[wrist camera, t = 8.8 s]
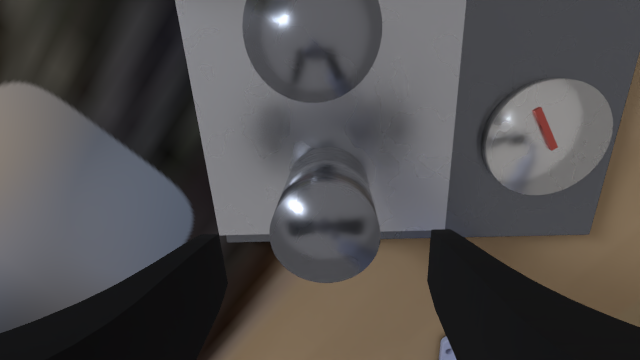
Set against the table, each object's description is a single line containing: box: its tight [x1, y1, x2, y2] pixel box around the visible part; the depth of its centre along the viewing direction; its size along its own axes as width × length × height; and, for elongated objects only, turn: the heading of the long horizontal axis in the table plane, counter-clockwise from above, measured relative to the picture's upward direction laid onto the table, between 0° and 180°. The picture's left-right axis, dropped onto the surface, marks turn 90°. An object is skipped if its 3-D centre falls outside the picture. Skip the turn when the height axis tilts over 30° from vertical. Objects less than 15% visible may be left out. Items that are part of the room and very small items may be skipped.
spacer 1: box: [242, 0, 382, 103], centre depth 12 cm, size 4×4×5 cm
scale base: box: [226, 0, 640, 242], centre depth 16 cm, size 14×20×2 cm
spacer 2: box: [269, 147, 380, 283], centre depth 14 cm, size 4×4×5 cm
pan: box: [175, 0, 466, 235], centre depth 16 cm, size 12×12×1 cm
